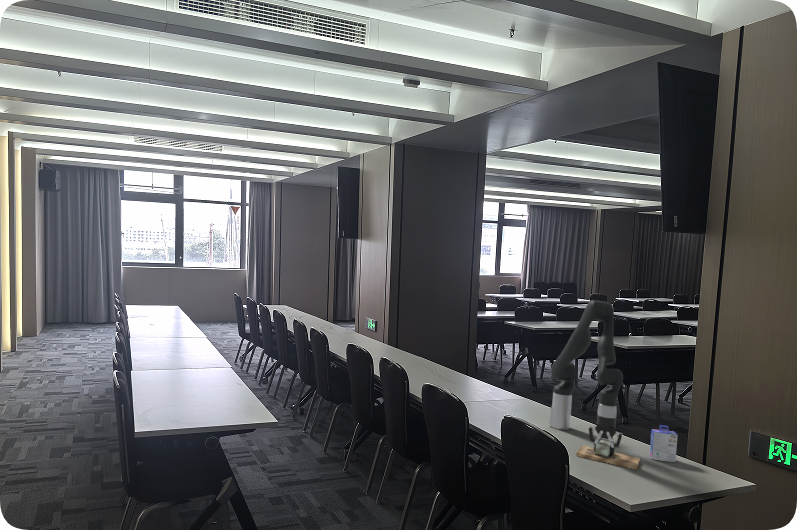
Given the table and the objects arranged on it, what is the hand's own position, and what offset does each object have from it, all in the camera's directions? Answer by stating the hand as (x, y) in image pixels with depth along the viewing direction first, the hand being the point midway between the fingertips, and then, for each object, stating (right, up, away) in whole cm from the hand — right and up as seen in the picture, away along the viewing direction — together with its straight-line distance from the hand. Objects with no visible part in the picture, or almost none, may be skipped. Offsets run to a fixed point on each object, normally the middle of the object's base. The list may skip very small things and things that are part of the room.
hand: (603, 453), depth 237 cm
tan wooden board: (+1, -2, -1) cm, 3 cm away
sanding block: (0, 0, 0) cm, 0 cm away
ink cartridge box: (+27, -4, +4) cm, 28 cm away
